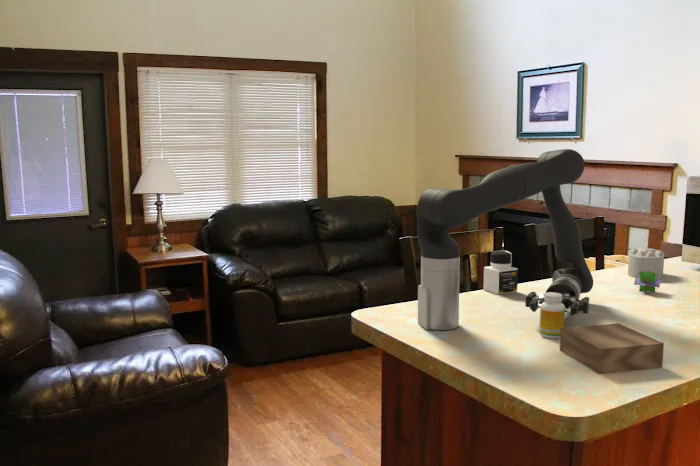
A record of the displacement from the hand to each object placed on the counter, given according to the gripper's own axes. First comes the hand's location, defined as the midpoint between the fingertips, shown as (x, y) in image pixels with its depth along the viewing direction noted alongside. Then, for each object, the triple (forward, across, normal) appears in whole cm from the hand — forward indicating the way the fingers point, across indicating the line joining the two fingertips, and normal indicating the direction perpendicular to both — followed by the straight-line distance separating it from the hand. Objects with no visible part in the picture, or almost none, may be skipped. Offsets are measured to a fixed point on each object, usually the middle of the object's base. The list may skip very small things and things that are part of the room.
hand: (552, 309), depth 146 cm
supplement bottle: (0, 0, +6) cm, 6 cm away
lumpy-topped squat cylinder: (-78, +17, +6) cm, 80 cm away
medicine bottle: (-37, -21, +6) cm, 43 cm away
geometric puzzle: (-53, +18, +6) cm, 56 cm away
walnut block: (+11, +13, +6) cm, 18 cm away
